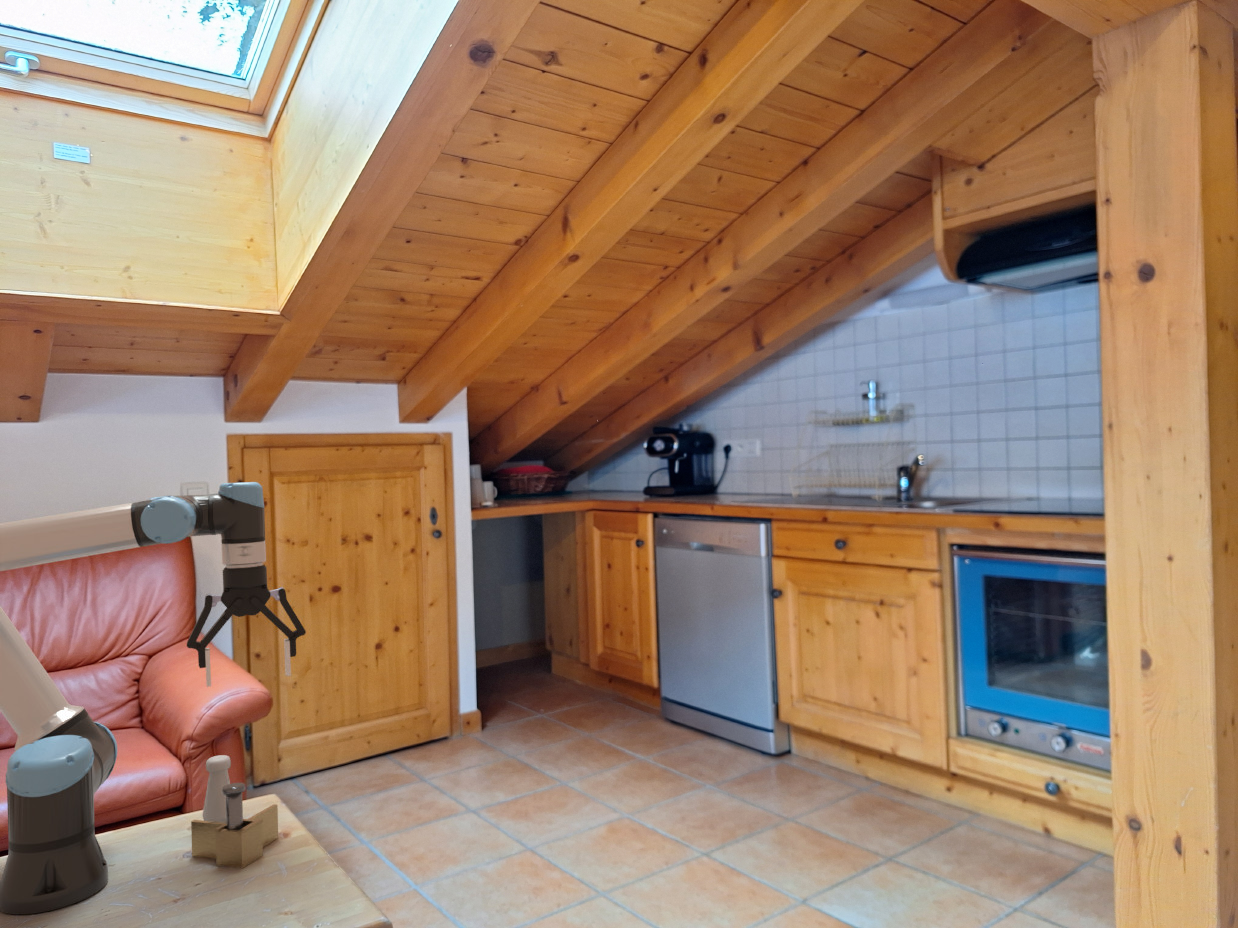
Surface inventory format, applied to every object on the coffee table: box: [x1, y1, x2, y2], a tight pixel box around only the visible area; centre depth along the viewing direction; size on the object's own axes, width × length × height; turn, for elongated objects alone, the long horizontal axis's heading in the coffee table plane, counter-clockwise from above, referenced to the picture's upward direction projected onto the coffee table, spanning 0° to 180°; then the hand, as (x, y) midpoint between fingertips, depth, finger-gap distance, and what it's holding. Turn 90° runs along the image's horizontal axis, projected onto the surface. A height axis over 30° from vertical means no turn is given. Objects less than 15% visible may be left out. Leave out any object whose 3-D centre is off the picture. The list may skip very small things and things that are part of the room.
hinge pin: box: [222, 782, 246, 830], centre depth 151 cm, size 4×4×13 cm
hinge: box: [190, 803, 279, 869], centre depth 156 cm, size 12×12×6 cm
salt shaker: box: [202, 754, 232, 823], centre depth 167 cm, size 6×6×13 cm
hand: (249, 679), depth 164 cm, fingers open, 13 cm apart
